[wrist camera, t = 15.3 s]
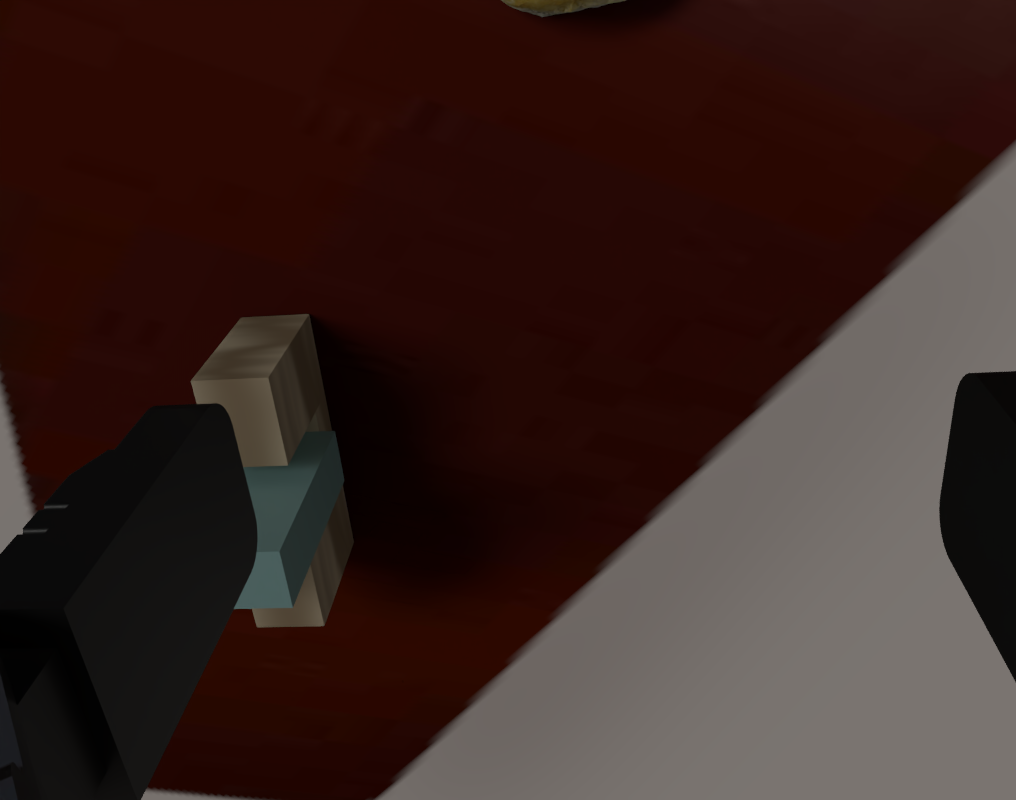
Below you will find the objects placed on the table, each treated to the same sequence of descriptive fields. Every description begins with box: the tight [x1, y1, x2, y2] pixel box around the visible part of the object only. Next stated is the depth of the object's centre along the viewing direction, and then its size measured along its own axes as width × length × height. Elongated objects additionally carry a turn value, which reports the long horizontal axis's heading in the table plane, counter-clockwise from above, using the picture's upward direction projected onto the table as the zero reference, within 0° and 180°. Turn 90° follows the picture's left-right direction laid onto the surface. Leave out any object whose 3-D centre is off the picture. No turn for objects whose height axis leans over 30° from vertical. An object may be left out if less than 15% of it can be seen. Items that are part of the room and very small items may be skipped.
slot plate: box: [191, 314, 354, 627], centre depth 48 cm, size 4×14×7 cm, turn 5°
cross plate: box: [234, 431, 344, 609], centre depth 45 cm, size 5×3×10 cm, turn 95°
